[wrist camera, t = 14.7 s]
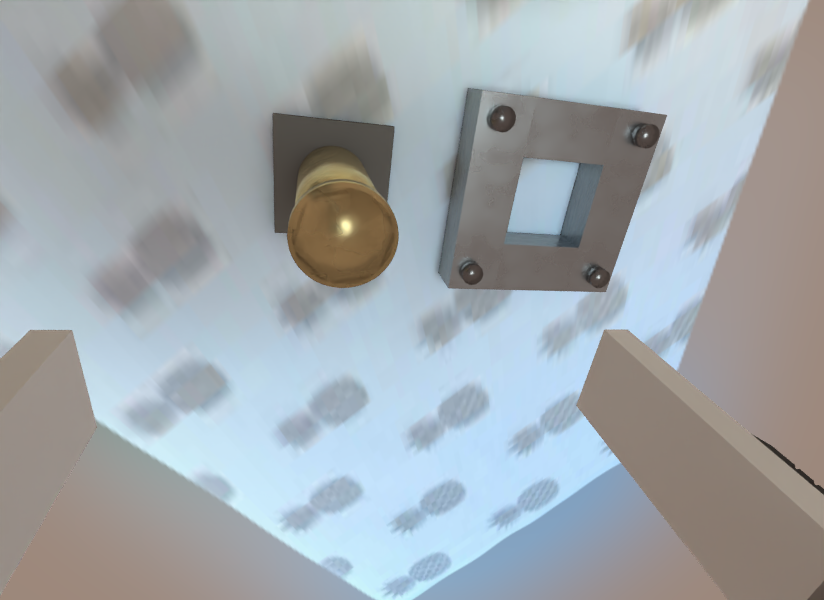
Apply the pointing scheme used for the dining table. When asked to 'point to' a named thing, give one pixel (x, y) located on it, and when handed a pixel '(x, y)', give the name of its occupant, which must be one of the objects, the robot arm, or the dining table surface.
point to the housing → (498, 177)
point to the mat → (309, 133)
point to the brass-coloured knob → (340, 221)
